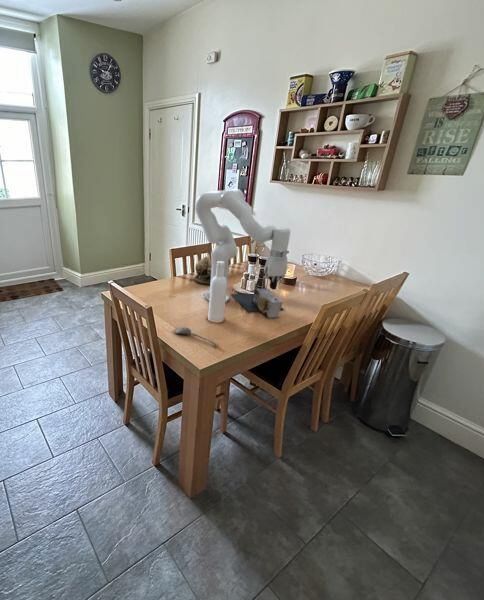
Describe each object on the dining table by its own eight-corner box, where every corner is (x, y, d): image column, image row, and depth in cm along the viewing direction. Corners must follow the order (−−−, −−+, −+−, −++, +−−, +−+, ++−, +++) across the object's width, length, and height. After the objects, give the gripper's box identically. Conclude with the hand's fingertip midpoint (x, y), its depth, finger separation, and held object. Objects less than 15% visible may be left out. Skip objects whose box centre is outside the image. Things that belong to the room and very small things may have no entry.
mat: (248, 312, 173) (248, 311, 173) (231, 295, 194) (231, 294, 194) (283, 309, 176) (283, 308, 176) (262, 293, 198) (262, 292, 198)
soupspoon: (180, 329, 156) (172, 334, 152) (180, 323, 155) (171, 328, 150) (220, 343, 143) (212, 350, 138) (220, 337, 141) (212, 343, 137)
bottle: (205, 317, 167) (209, 260, 155) (218, 314, 170) (223, 258, 158) (212, 323, 160) (217, 265, 148) (226, 321, 163) (232, 263, 151)
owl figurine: (221, 283, 213) (224, 257, 206) (210, 287, 206) (212, 261, 199) (200, 276, 225) (202, 252, 218) (189, 279, 218) (190, 255, 211)
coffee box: (268, 318, 166) (250, 303, 179) (278, 317, 168) (260, 303, 182) (272, 301, 162) (254, 288, 176) (283, 301, 164) (264, 288, 178)
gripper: (288, 250, 164) (282, 285, 171) (260, 252, 161) (255, 286, 168) (296, 254, 157) (290, 290, 164) (267, 256, 154) (262, 292, 162)
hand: (272, 288), depth 166 cm, fingers closed
